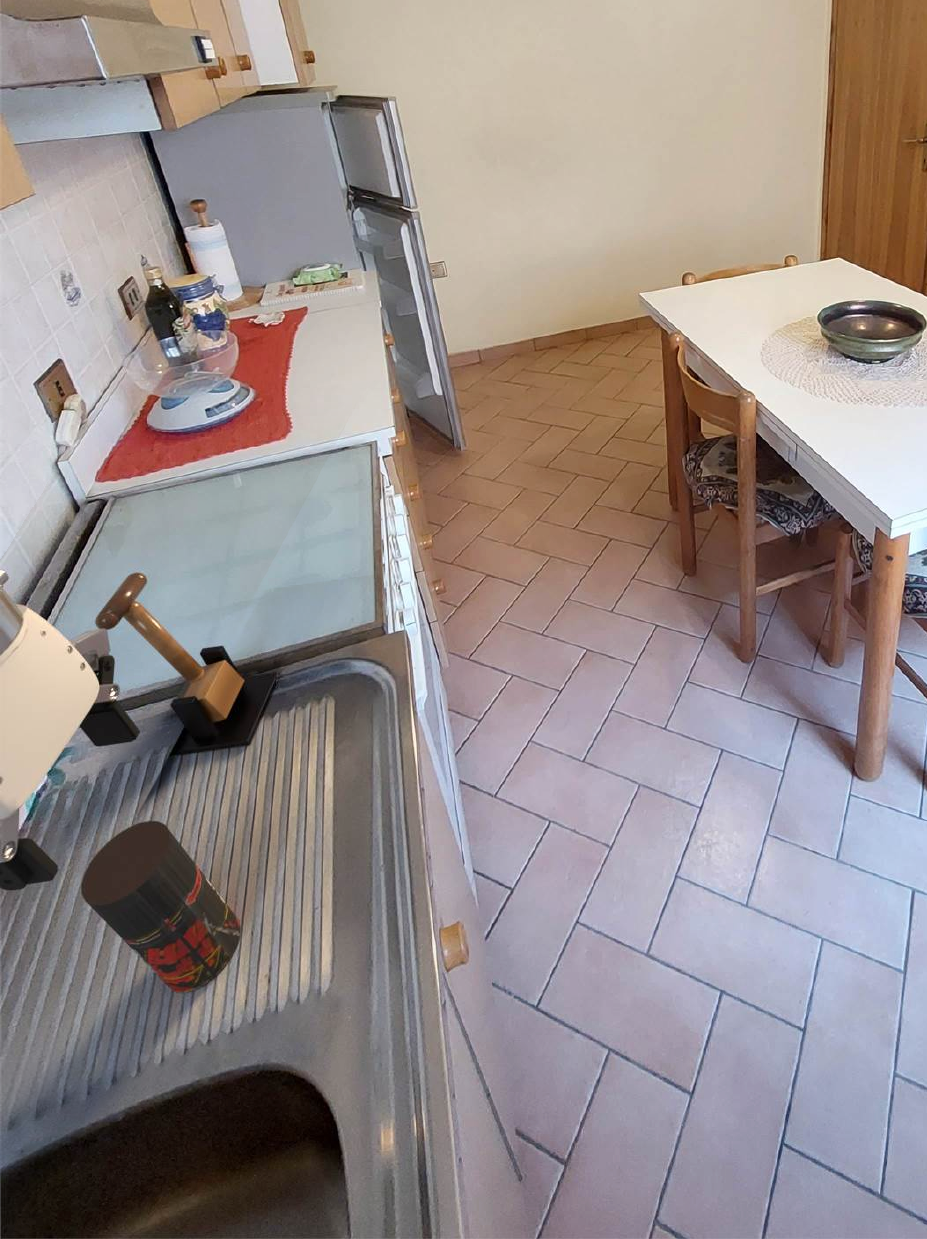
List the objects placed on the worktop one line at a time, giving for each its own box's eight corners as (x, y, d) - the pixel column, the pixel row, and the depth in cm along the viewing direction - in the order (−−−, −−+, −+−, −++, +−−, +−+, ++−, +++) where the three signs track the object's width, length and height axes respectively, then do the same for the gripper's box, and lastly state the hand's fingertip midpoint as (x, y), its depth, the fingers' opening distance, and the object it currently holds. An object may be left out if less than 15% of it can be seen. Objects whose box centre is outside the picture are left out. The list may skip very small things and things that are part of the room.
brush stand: (159, 758, 78) (129, 717, 75) (198, 687, 86) (172, 646, 83) (250, 745, 79) (224, 703, 75) (280, 675, 87) (258, 635, 83)
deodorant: (148, 983, 60) (61, 895, 53) (202, 904, 65) (129, 814, 58) (204, 1001, 59) (123, 913, 51) (255, 919, 64) (187, 828, 56)
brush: (69, 628, 70) (109, 616, 69) (111, 576, 76) (148, 564, 75) (186, 737, 79) (222, 727, 78) (214, 682, 85) (248, 673, 85)
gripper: (-17, 551, 50) (100, 703, 58) (-279, 799, 35) (-71, 958, 43) (90, 536, 50) (191, 690, 59) (-123, 776, 35) (53, 938, 43)
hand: (80, 803), depth 51 cm, fingers open, 9 cm apart
